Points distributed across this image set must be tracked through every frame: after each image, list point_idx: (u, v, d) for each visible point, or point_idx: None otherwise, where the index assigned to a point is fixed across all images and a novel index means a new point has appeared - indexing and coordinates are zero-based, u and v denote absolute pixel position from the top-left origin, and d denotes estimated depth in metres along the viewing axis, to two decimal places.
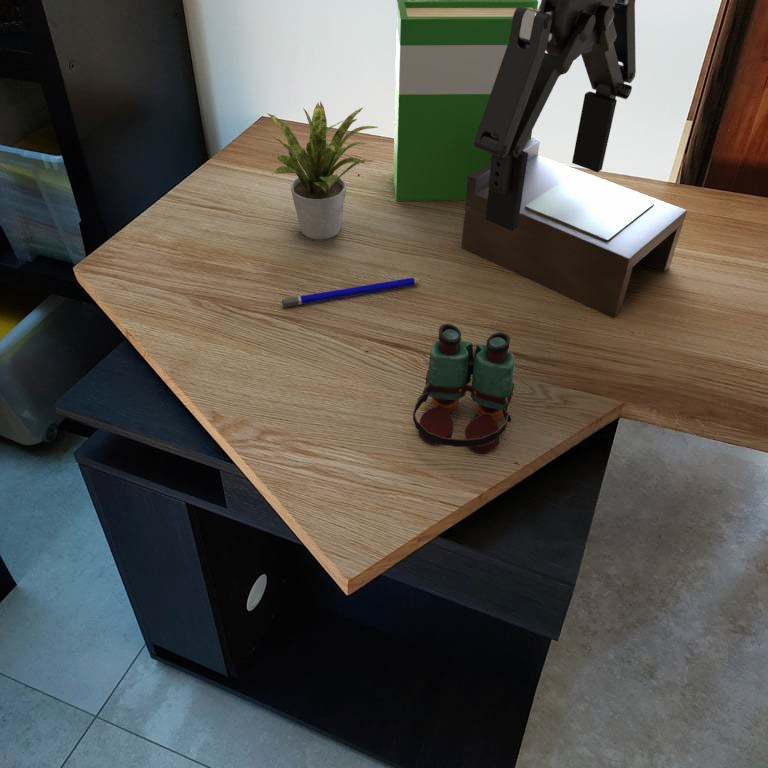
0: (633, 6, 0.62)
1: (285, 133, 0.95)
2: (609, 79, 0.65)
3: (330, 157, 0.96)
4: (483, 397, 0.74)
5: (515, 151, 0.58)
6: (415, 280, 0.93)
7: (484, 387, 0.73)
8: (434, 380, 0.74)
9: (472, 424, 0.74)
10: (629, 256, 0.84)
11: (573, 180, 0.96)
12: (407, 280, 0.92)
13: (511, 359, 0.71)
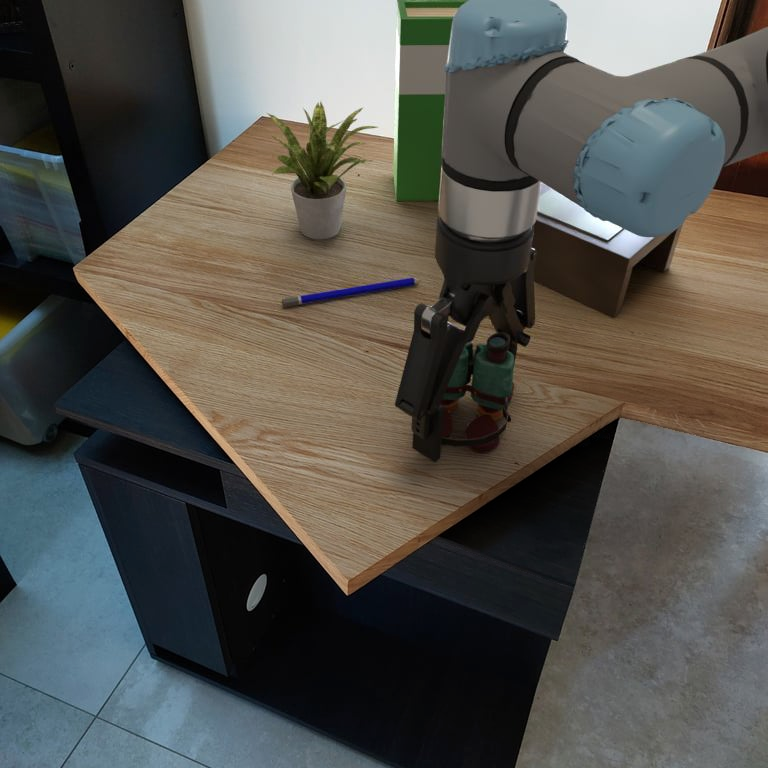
0: (532, 272, 0.68)
1: (285, 133, 0.95)
2: (510, 331, 0.71)
3: (330, 157, 0.96)
4: (483, 397, 0.74)
5: (431, 411, 0.65)
6: (415, 280, 0.93)
7: (484, 387, 0.73)
8: None
9: (472, 424, 0.74)
10: (629, 256, 0.84)
11: None
12: (407, 280, 0.92)
13: (511, 359, 0.71)
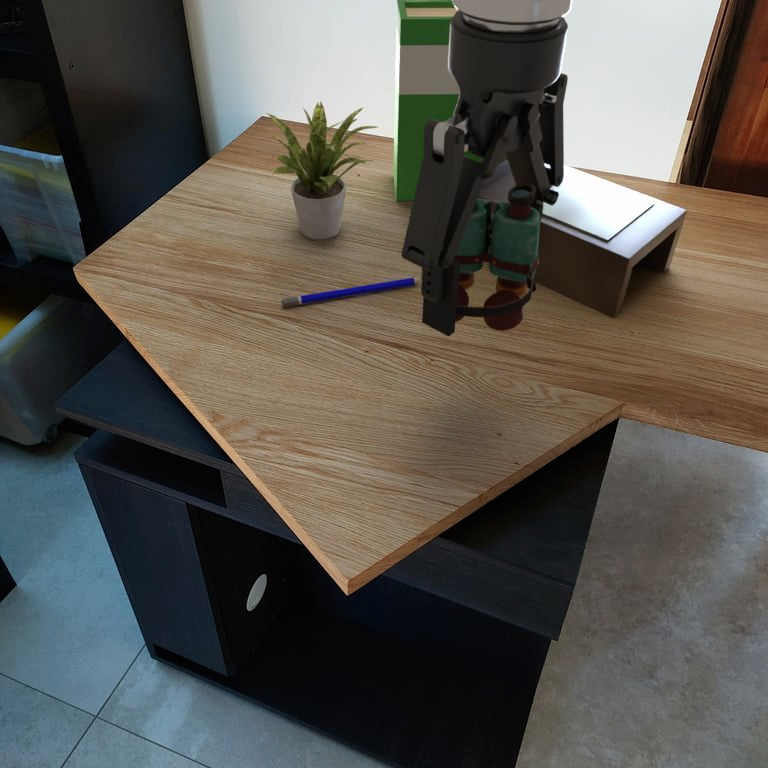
0: (561, 106, 0.58)
1: (285, 133, 0.95)
2: (535, 182, 0.61)
3: (330, 157, 0.96)
4: (503, 267, 0.64)
5: (445, 263, 0.55)
6: (415, 280, 0.93)
7: (505, 253, 0.63)
8: None
9: (491, 299, 0.64)
10: (629, 256, 0.84)
11: (573, 180, 0.96)
12: (407, 280, 0.92)
13: (536, 216, 0.61)
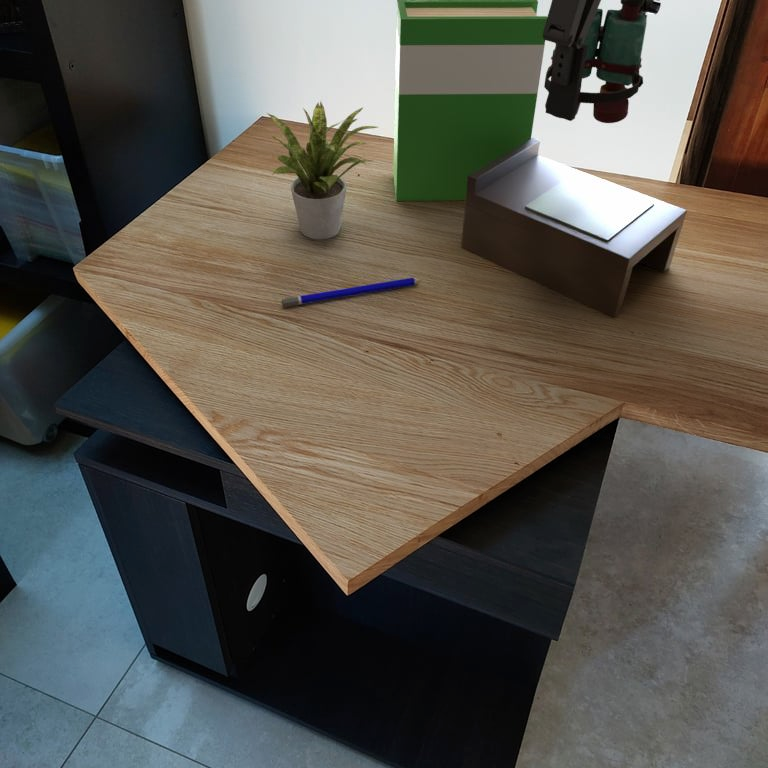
0: None
1: (285, 133, 0.95)
2: None
3: (330, 157, 0.96)
4: (611, 69, 0.74)
5: (578, 43, 0.66)
6: (415, 280, 0.93)
7: (614, 55, 0.73)
8: None
9: None
10: (629, 256, 0.84)
11: (573, 180, 0.96)
12: (407, 280, 0.92)
13: (644, 18, 0.72)
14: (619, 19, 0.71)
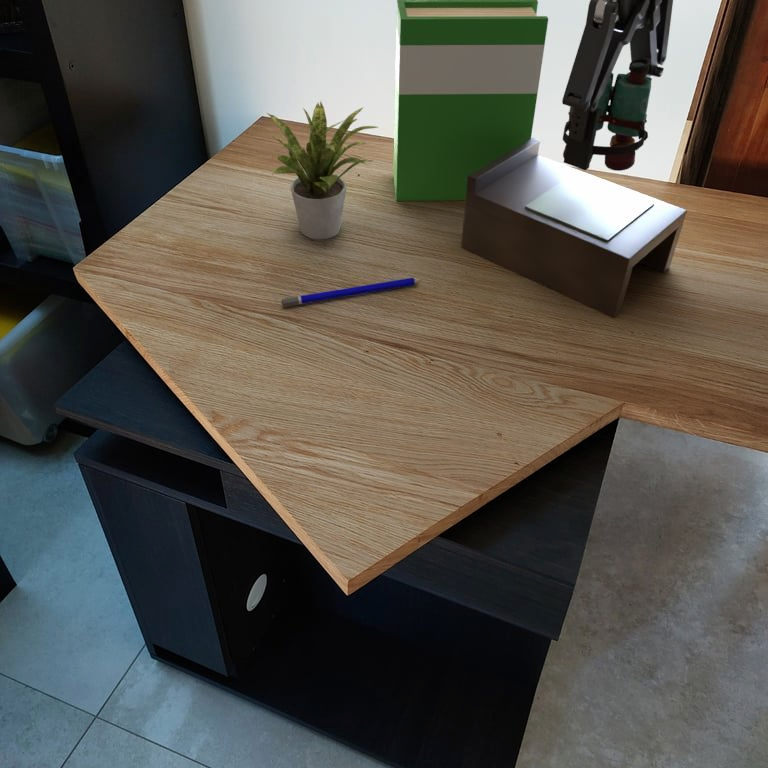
0: None
1: (285, 133, 0.95)
2: None
3: (330, 157, 0.96)
4: (620, 124, 0.86)
5: (592, 107, 0.78)
6: (415, 280, 0.93)
7: (623, 113, 0.85)
8: None
9: None
10: (629, 256, 0.84)
11: (573, 180, 0.96)
12: (407, 280, 0.92)
13: (649, 82, 0.83)
14: (627, 83, 0.83)
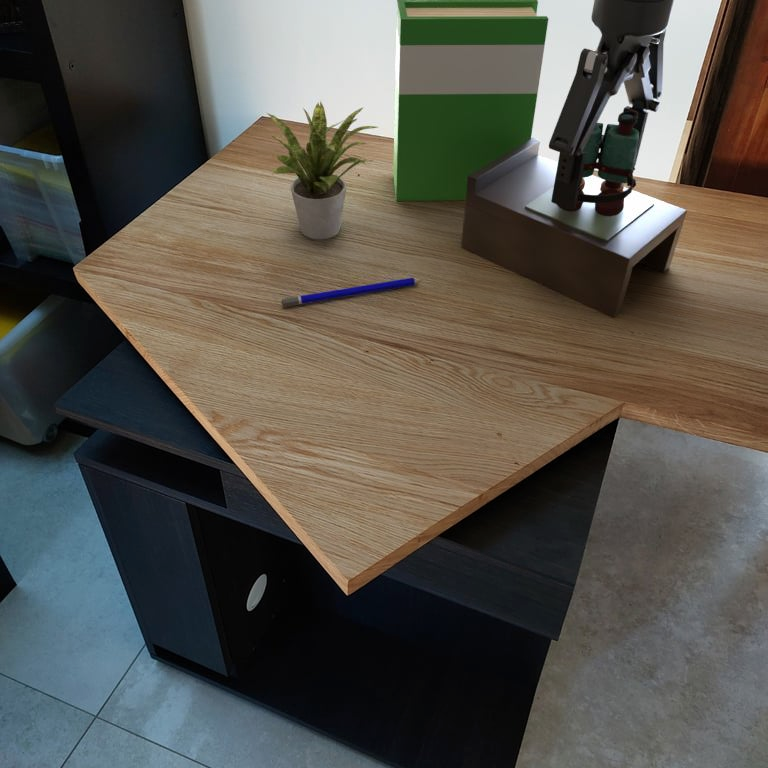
0: (662, 44, 0.84)
1: (285, 133, 0.95)
2: (643, 97, 0.87)
3: (330, 157, 0.96)
4: (610, 171, 0.90)
5: (578, 151, 0.80)
6: (415, 280, 0.93)
7: (612, 161, 0.89)
8: None
9: (601, 195, 0.90)
10: (629, 256, 0.84)
11: None
12: (407, 280, 0.92)
13: (637, 133, 0.87)
14: (616, 133, 0.87)
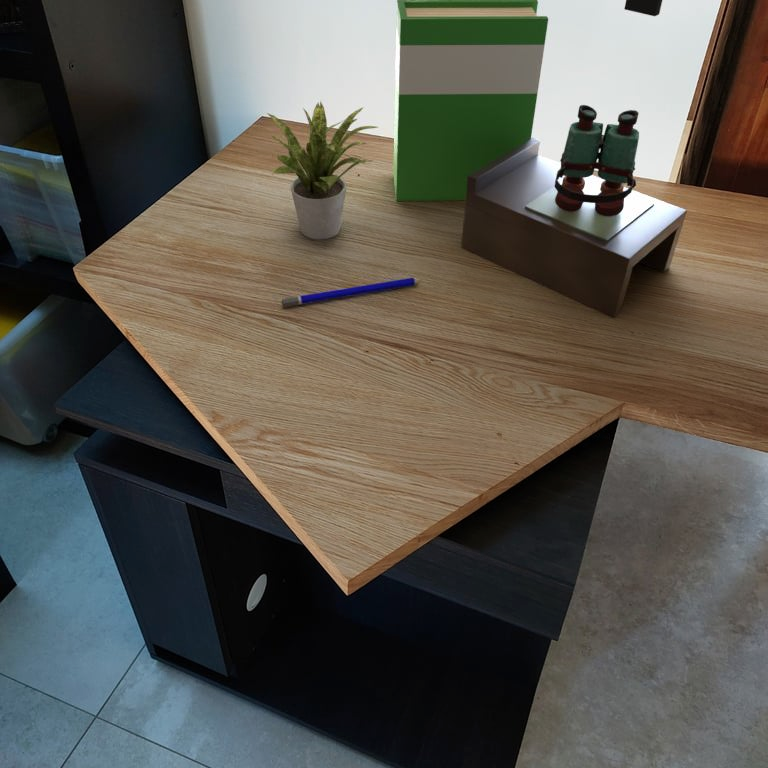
0: None
1: (285, 133, 0.95)
2: None
3: (330, 157, 0.96)
4: (610, 171, 0.90)
5: None
6: (415, 280, 0.93)
7: (612, 161, 0.89)
8: (570, 157, 0.90)
9: (601, 195, 0.90)
10: (629, 256, 0.84)
11: None
12: (407, 280, 0.92)
13: (637, 133, 0.87)
14: (616, 133, 0.87)
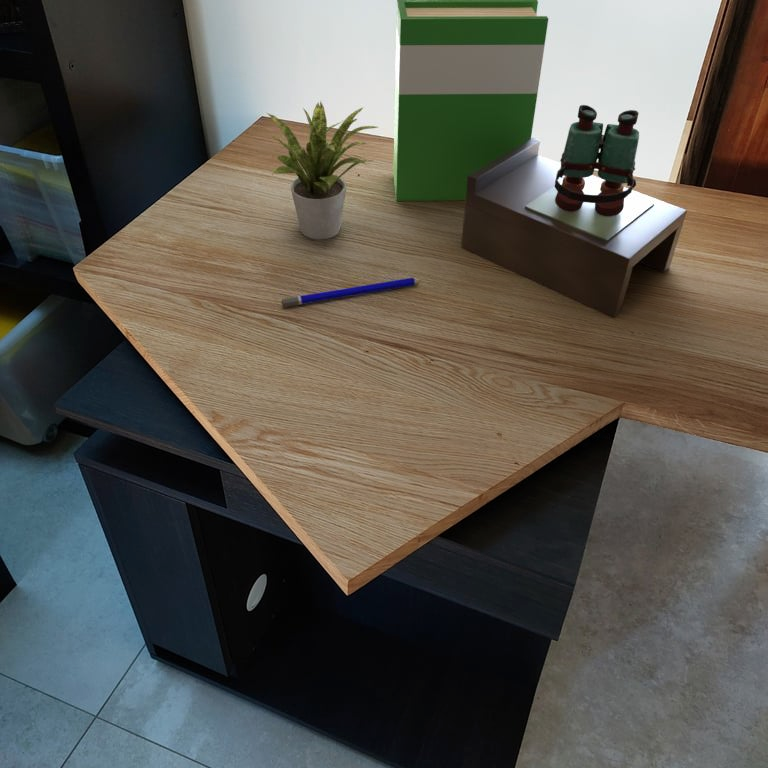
0: None
1: (285, 133, 0.95)
2: None
3: (330, 157, 0.96)
4: (610, 171, 0.90)
5: None
6: (415, 280, 0.93)
7: (612, 161, 0.89)
8: (570, 157, 0.90)
9: (601, 195, 0.90)
10: (629, 256, 0.84)
11: None
12: (407, 280, 0.92)
13: (637, 133, 0.87)
14: (616, 133, 0.87)
